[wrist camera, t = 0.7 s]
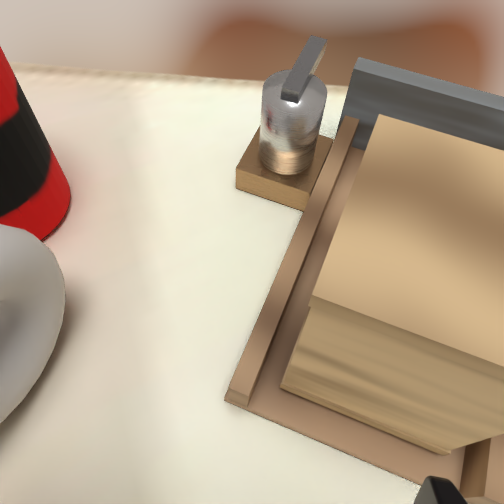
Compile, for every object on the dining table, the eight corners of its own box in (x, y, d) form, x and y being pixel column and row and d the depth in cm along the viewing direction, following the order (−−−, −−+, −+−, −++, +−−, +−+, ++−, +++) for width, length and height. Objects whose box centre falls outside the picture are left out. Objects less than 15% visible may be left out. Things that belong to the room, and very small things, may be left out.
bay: (479, 510, 21) (570, 507, 15) (224, 400, 23) (221, 362, 17) (517, 192, 31) (582, 118, 25) (337, 136, 33) (358, 56, 27)
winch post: (305, 212, 29) (327, 121, 23) (235, 188, 30) (236, 93, 23) (334, 145, 32) (360, 48, 26) (270, 125, 33) (279, 26, 27)
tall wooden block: (440, 456, 21) (611, 406, 12) (278, 389, 23) (311, 294, 13) (465, 309, 25) (607, 181, 16) (326, 260, 27) (379, 113, 17)
